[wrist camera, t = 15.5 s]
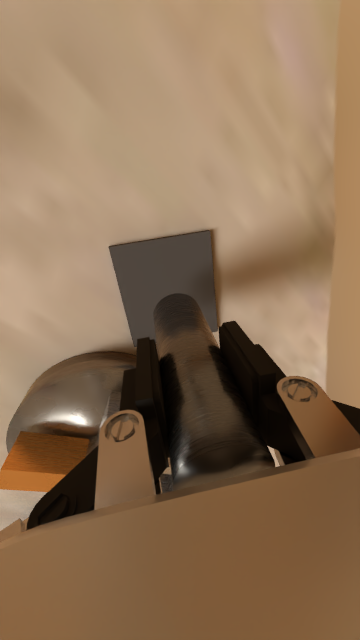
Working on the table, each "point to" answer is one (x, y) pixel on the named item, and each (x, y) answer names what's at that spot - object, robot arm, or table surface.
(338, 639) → the robot arm
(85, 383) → the chuck base
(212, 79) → the table surface
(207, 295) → the mat
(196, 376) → the grey pestle
